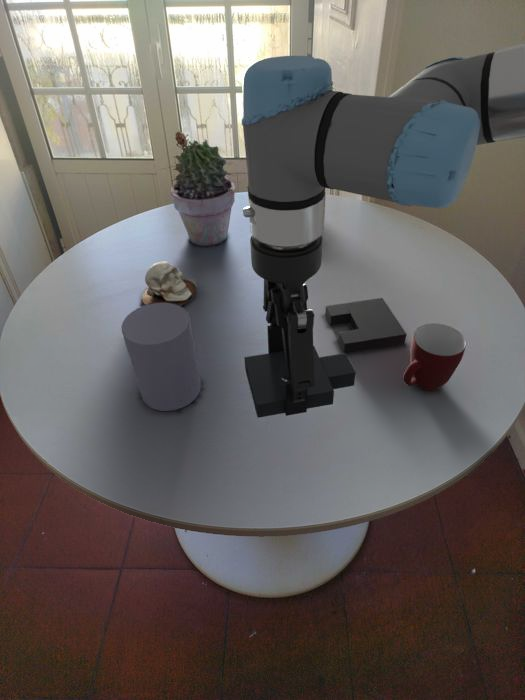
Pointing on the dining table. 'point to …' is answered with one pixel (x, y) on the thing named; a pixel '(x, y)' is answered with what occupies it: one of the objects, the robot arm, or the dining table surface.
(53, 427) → the dining table surface
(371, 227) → the dining table surface
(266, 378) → the pad
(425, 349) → the mug
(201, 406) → the dining table surface
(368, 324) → the base pad
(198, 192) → the potted plant
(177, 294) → the skull
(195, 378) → the container
